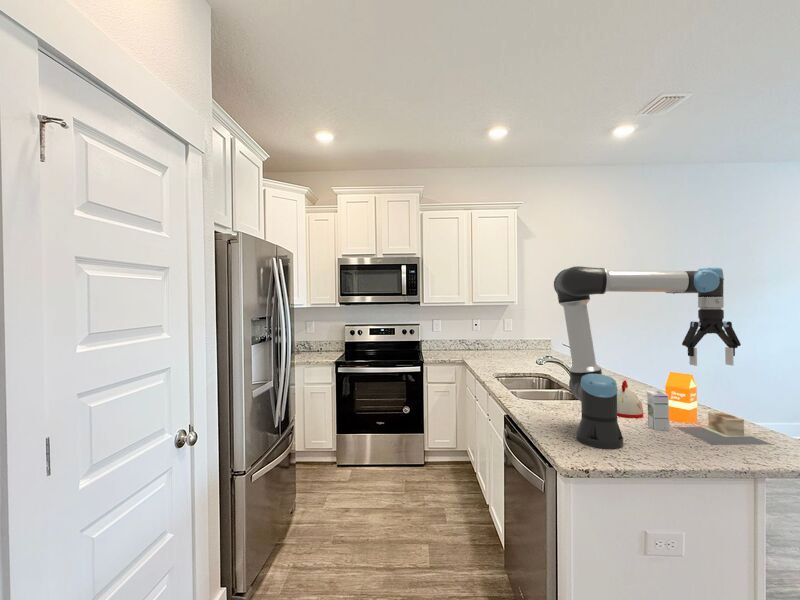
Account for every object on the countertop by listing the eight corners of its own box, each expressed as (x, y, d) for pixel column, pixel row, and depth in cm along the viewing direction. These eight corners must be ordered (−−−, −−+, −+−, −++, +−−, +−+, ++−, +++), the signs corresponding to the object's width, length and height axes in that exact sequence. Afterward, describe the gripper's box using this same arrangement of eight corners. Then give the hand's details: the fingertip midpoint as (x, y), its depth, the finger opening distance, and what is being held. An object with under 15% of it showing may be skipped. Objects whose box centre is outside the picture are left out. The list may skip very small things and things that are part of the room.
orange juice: (689, 424, 158) (688, 375, 158) (665, 419, 165) (664, 372, 165) (697, 421, 162) (696, 373, 162) (673, 416, 169) (673, 370, 170)
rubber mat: (712, 446, 134) (712, 444, 134) (673, 428, 153) (673, 426, 153) (772, 445, 134) (772, 443, 134) (726, 428, 153) (726, 426, 153)
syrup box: (670, 431, 149) (669, 394, 149) (653, 430, 151) (652, 393, 151) (663, 427, 155) (662, 391, 155) (647, 426, 156) (646, 390, 156)
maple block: (708, 427, 152) (708, 412, 152) (723, 427, 152) (723, 412, 152) (727, 435, 143) (727, 419, 143) (744, 435, 143) (743, 419, 143)
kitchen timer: (604, 414, 173) (603, 381, 173) (611, 408, 183) (611, 376, 184) (640, 420, 164) (639, 385, 164) (645, 413, 174) (645, 380, 175)
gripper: (684, 309, 141) (685, 366, 141) (752, 308, 141) (753, 366, 141) (670, 308, 149) (671, 363, 149) (735, 308, 149) (735, 363, 149)
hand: (711, 365), depth 145 cm, fingers open, 13 cm apart
